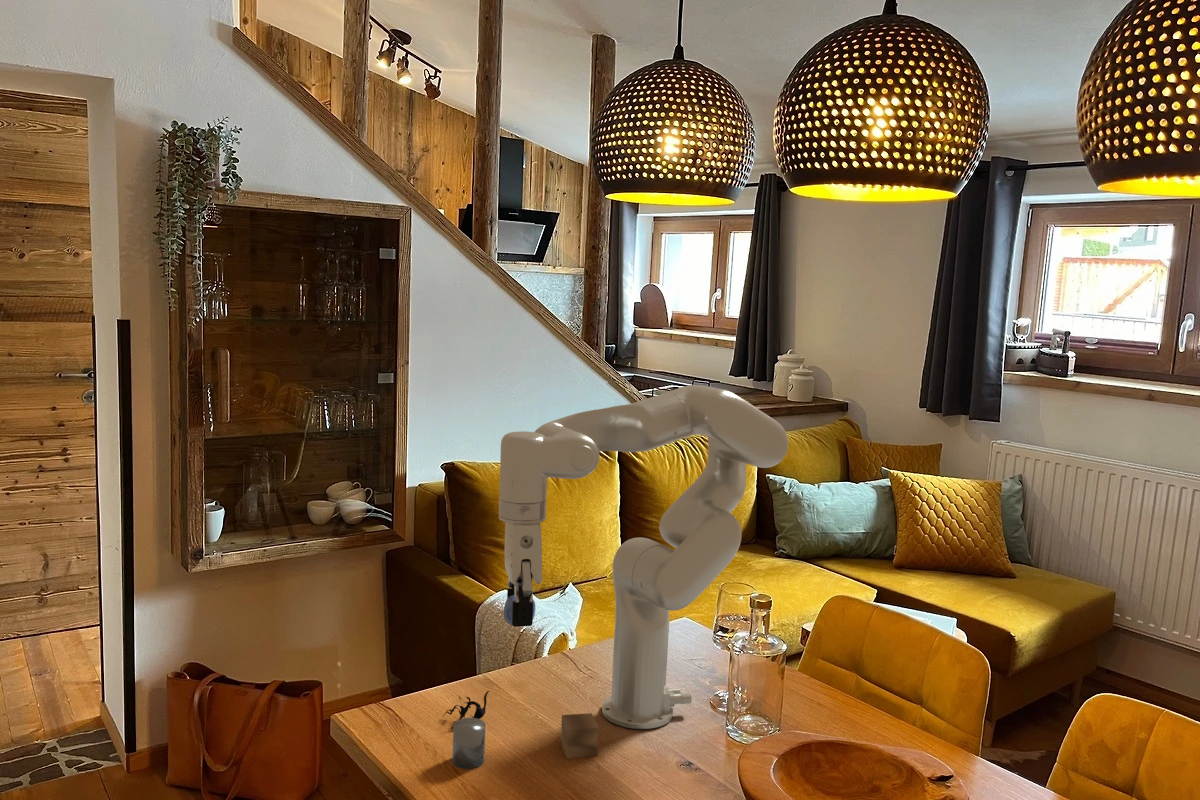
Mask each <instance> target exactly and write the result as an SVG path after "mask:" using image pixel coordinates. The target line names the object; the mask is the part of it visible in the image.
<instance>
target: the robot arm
mask: <svg viewBox="0 0 1200 800" xmlns="http://www.w3.org/2000/svg"><path fill="white" fill-rule="evenodd" d="M694 435H695V436H696V435H701V436H705V437H707V442H708V443H707V447H708V449H707V452H708V453H707V455H708V456H707V459H706V464H705V468H704V470H703V471H702V473H701V474H700V475H699V476H698V477H697V478H696V480H695V481H694V482H693V483H692V484H691V485H690V486H689V487H688V488H687V489H686V490H685V491H684V492H682V494H681V495H680V496H679V497H677V499H676V500H675V501H674V502H672V504H671V505H670V506H669V507H668V509H666V510H665V512H664V513H663V515H662V516H661V518H660V521H659V525H658V527H659V528H658V529H659V532H660V533H659V534H660V535H661V538H662V539H663V540H664V541H665V542H666V543H668V544H669V546H672V547H674V548H675V549H672V548H670V547H669V546H666V545H665V544H663V543H660V542H658V541H656V540H653V539H651V538H647V537H633V538H629V539H627V540H626V541H624V542H623V543H622V544H620V546H619V547H618V549H617V550H616V551H615V555H614V557H613V560H612V579H613V580H612V582H613V587H614V597H615V598H614V599H615V616H614V617H615V619H614V620H615V622H614V635H613V637H614V640H613V655H612V656H613V657H612V662H613V663H612V678H611V694H610V696H608V697H607V698H606V699H604V700H603V701H602V705H601V706H602V707H601V713H602V715H603V716H604V718H605V719H606V720H607V721H609V722H611V723H612V724H614V725H617V726H619V727H623V728H627V729H633V730H634V729H635V730H649V729H655V728H660V727H662V726H665V725H667V724H669V723H670V721H671V720H672V719H673V715H674V707H675V705H679V704H680V705H690V704H692V701H693V699H692V694H691V692H681V690H680V688H679V687H678V688H669V689H668V688H667V686H666V684H667V670H668V669H667V665H668V651H669V650H668V649H669V634H670V633H669V632H670V612H671V611H680V610H682V609H684V608H686V607H688V606H689V605H690V604H692V602H694V601H695V600H696V599H697V598H699V596H700V595H701V594H703V592H704V591H705V590H706V589H707V588H708V587H709V586H710V585H711V584H712V583H713V582H714V580H715V579H716V578H718V576H719V575H720V574H721V573H722V572H723V571H724V570H725V569H727V567H728V565H730V563H731V562H732V561H733V559H734V558H735V556H736V555H737V553H738V551H739V549H740V546H741V542H742V538H743V537H742V528H741V524H740V522H739V520H738V519H737V517H735V515H733V513H732V512H733V511H734V510H735V508H736V507H738V505H739V504H740V502H741V501H742V499H743V497H744V495H745V493H746V485H747V465H749V466H753V467H755V468H761V469H769V468H773V467H774V466H777V465H778V464H780V463H781V462H782V461H783V460H784V459H785V457H786V455H787V454H788V449H789V438H788V434H787V432H786V430H785V428H784V427H783V426H782V424H780V423H779V422H778V420H776V419H774V418H772V417H771V416H769V415H768V414H766V413H765V412H763V411H762V410H760V409H758V408H757V407H756V406H754V405H753V404H752V403H750V402H748V401H747V400H745V399H743V398H742V397H740V396H739V395H737V394H735V393H734V392H732V391H729V390H727V389H722V388H718V387H713V386H708V385H704V384H688V385H686V386H685V385H684V386H681V387H679V388H676V389H673V390H669V391H667V392H663V393H660V394H658V395H655V396H652V397H648V398H645V399H641V400H639V401H636V402H632V403H628V404H619V405H615V406H610V407H604V408H598V409H591V410H586V411H581V412H577V413H574V414H573V413H572V414H570V415H567V416H564V417H560V418H558V419H554V420H551V421H548V422H546V423H544V424H542V425H540V426H539V427H538V428H537V429H536V430H534V431H523V430H522V431H521V430H519V431H512V432H508V433H506V434H504V435H503V436H502V439H501V442H500V454H499V455H500V456H499V457H500V460H499V461H500V463H499V465H500V466H499V467H500V468H499V469H500V470H499V498H498V519H499V520H500V521H501V522H503V523H505V524H504V568H505V571H506V574H507V577H508V580H507V590H506V591H507V594H506V596H507V597H506V600H507V599H508V597H510V596H512V595H515V601H513V608H512V625H513V627H514V628H515V627H517V628H519V627H531V626H533V621H534V619H533V600H534V597H533V596H534V594H533V593H534V592H533V591H534V589H533V586H534V585H533V581H534V583H536V584H538V585H540V584H541V583H542V582H543V541H542V540H543V538H542V526H541V523H543V522H544V521H546V519H547V497H548V493H547V492H548V479H549V478H554V479H566V480H567V479H569V480H576V479H582V478H585V477H587V476H589V475H590V474H592V473H593V472H594V471H595V470H596V469H597V467H598V464H599V461H600V452H608V451H609V452H624V453H640V452H641V453H642V452H649V451H652V450H655V449H657V448H660V447H662V446H666V445H668V444H671V443H674V442H677V441H679V440H682V439H685V438H689V437H691V436H694ZM512 625H511V626H512Z"/></svg>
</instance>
